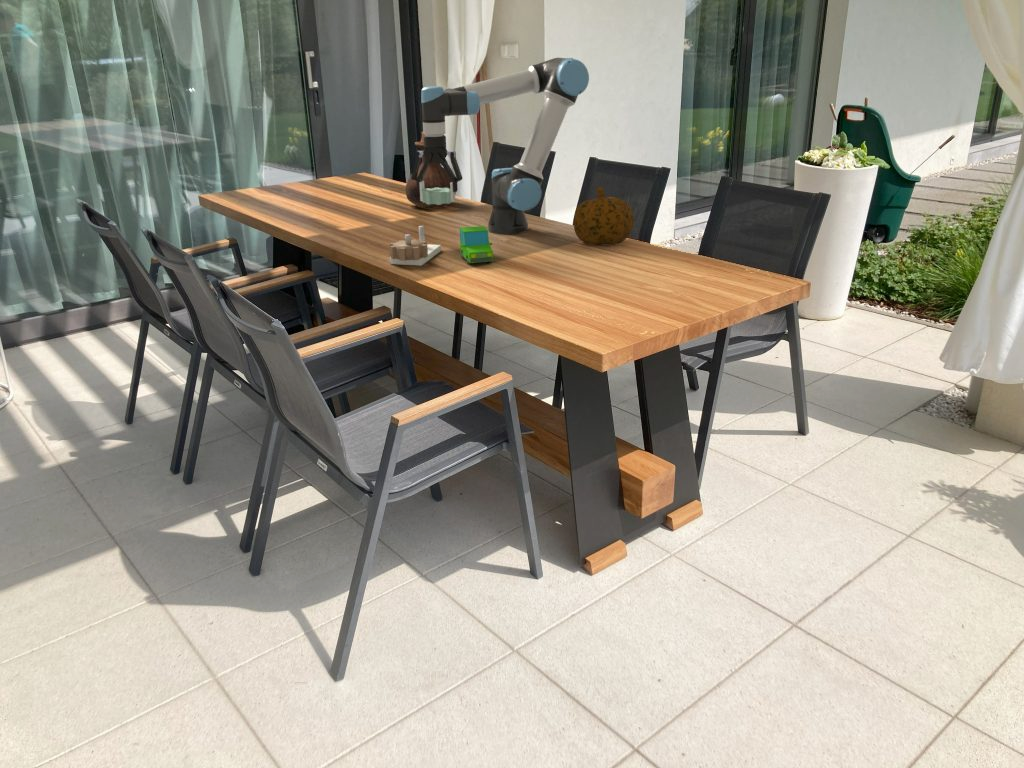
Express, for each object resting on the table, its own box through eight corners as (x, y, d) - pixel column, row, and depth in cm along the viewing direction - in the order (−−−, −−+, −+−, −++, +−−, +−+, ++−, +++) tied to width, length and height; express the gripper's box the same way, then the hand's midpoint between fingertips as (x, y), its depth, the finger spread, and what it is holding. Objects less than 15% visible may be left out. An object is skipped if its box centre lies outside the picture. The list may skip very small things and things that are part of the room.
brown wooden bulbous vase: (466, 204, 364) (464, 132, 352) (437, 212, 347) (433, 138, 336) (427, 199, 375) (423, 130, 363) (396, 207, 358) (391, 135, 346)
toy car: (466, 267, 268) (465, 236, 264) (457, 257, 280) (456, 227, 276) (497, 264, 271) (496, 234, 267) (487, 255, 283) (486, 225, 279)
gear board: (443, 250, 288) (441, 224, 285) (420, 267, 268) (419, 240, 264) (409, 249, 291) (407, 223, 287) (384, 265, 271) (382, 238, 267)
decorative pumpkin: (636, 247, 286) (633, 188, 279) (575, 252, 288) (571, 193, 281) (632, 236, 305) (630, 180, 298) (575, 240, 307) (571, 185, 300)
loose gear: (456, 199, 293) (456, 187, 292) (447, 205, 284) (447, 193, 282) (428, 198, 296) (428, 187, 294) (418, 204, 286) (418, 192, 285)
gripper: (470, 134, 282) (472, 199, 290) (406, 133, 287) (410, 197, 296) (463, 136, 275) (466, 204, 284) (398, 135, 280) (403, 202, 289)
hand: (437, 201), depth 290 cm, fingers closed on loose gear, 10 cm apart
